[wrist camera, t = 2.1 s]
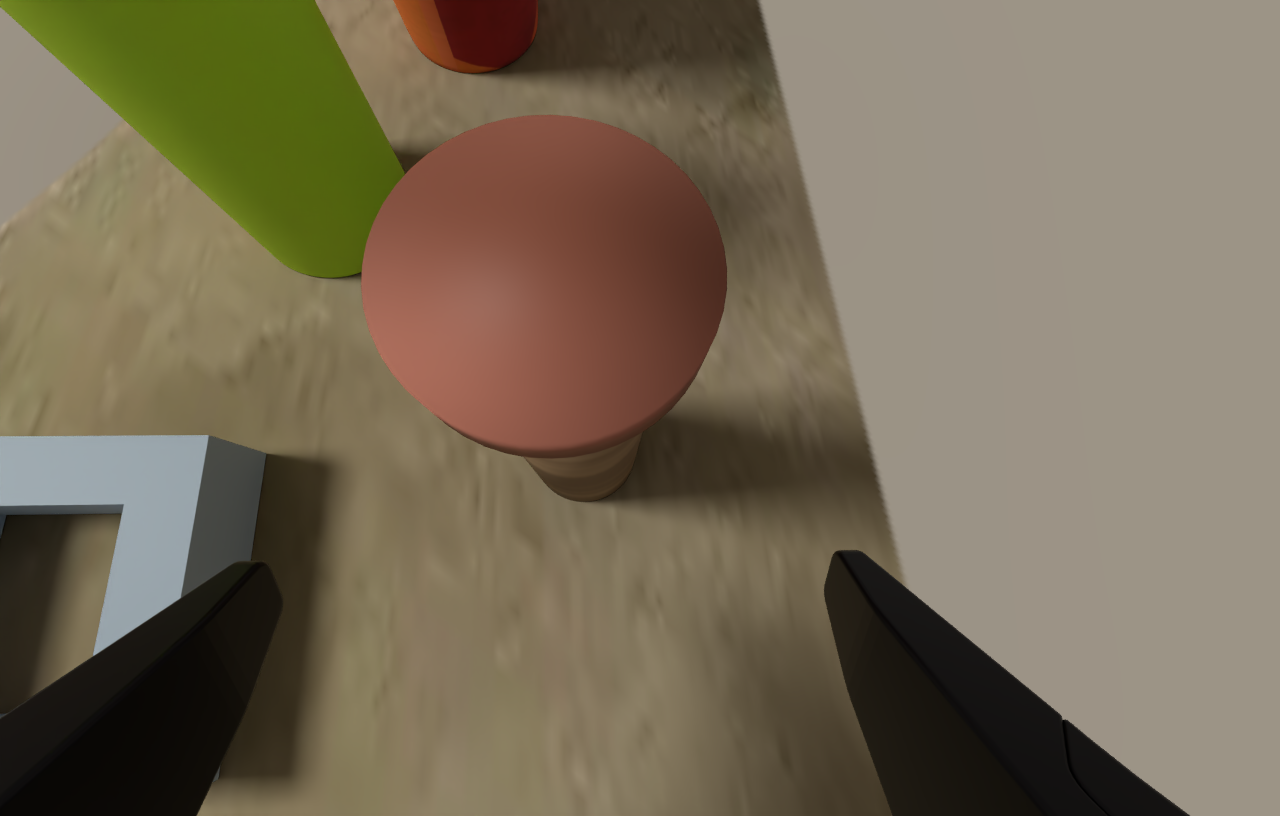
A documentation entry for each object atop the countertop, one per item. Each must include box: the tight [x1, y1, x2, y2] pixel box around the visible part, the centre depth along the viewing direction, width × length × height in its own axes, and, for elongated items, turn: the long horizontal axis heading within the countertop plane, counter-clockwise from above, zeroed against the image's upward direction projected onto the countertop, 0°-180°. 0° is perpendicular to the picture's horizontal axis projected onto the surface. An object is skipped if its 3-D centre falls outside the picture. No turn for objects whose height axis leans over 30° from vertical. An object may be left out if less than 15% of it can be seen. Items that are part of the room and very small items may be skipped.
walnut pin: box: [361, 115, 727, 502], centre depth 14 cm, size 5×5×14 cm
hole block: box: [0, 435, 266, 782], centre depth 17 cm, size 10×10×3 cm
